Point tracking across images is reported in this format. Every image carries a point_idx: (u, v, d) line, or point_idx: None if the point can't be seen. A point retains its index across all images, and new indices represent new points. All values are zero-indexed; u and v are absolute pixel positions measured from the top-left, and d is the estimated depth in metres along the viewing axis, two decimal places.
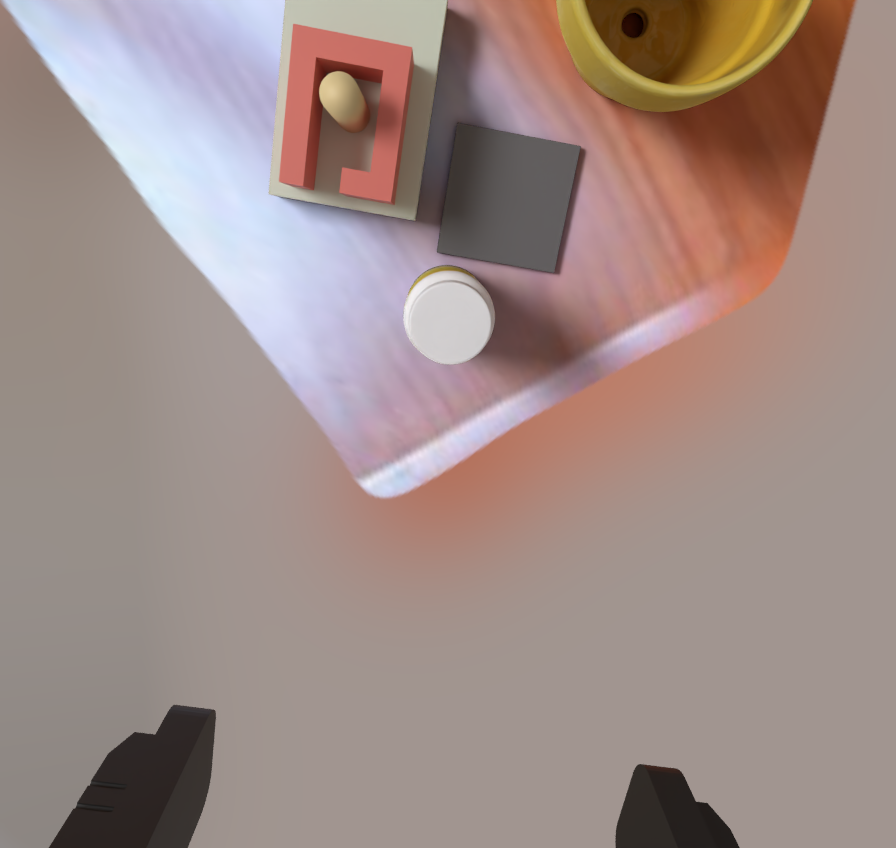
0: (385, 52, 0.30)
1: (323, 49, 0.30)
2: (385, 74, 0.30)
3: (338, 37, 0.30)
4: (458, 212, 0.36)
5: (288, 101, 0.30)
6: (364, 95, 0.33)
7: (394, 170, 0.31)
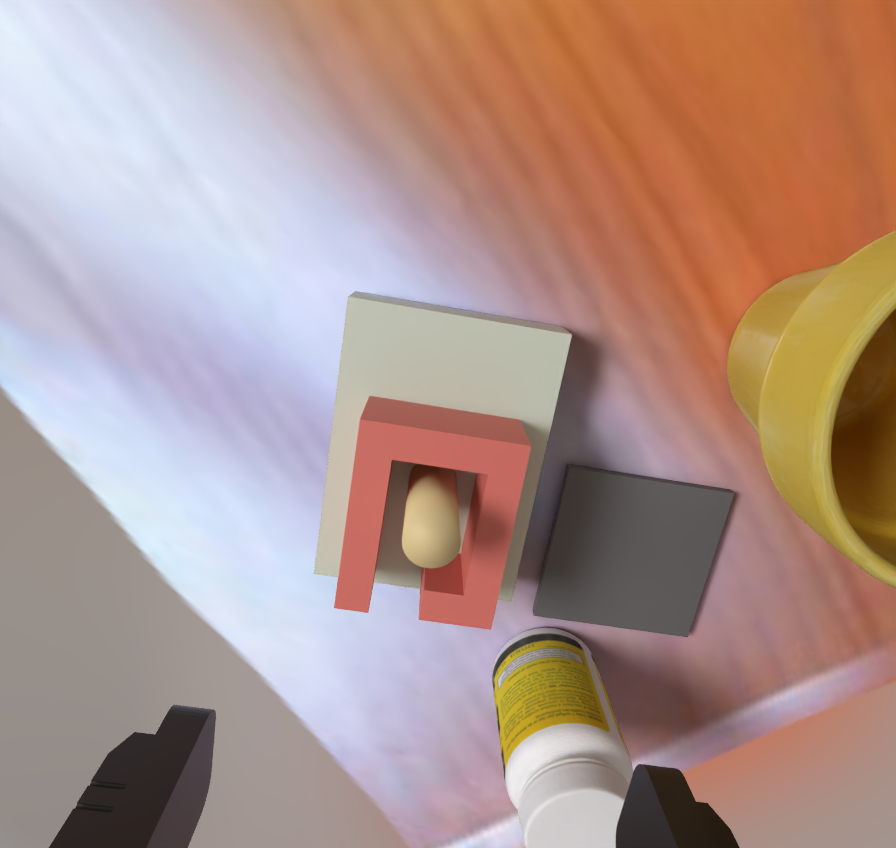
0: (492, 452, 0.21)
1: (403, 450, 0.21)
2: (491, 479, 0.21)
3: (425, 435, 0.20)
4: (565, 570, 0.27)
5: (350, 513, 0.21)
6: None
7: (497, 591, 0.22)
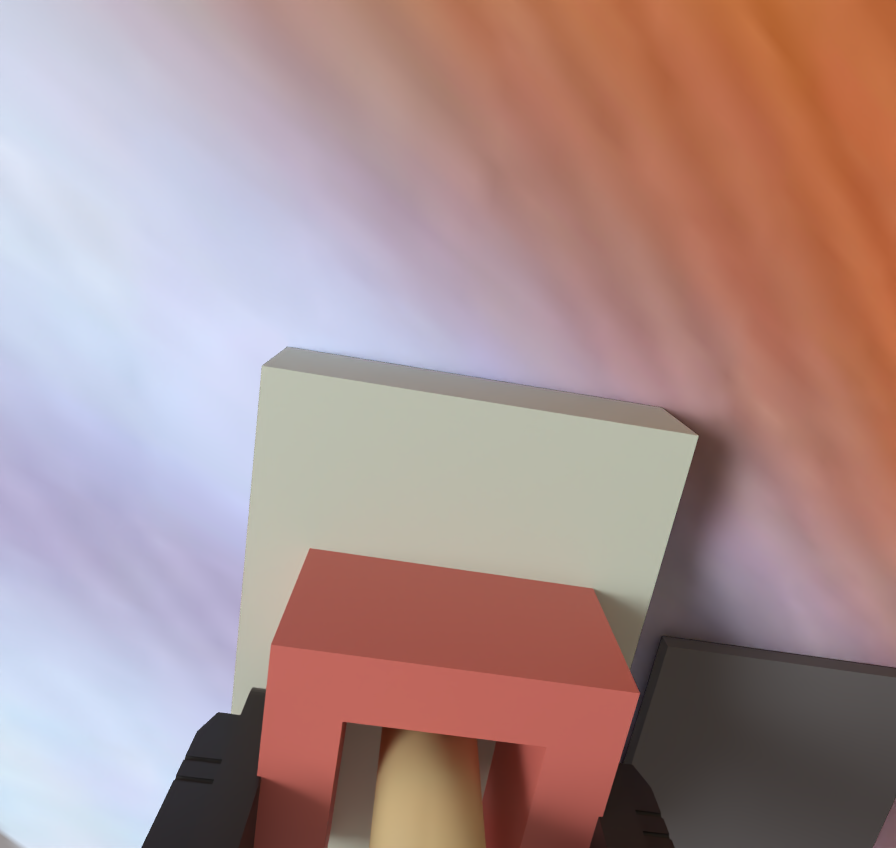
0: (556, 706, 0.10)
1: (366, 704, 0.10)
2: (552, 756, 0.10)
3: (413, 674, 0.10)
4: None
5: (259, 821, 0.10)
6: None
7: None
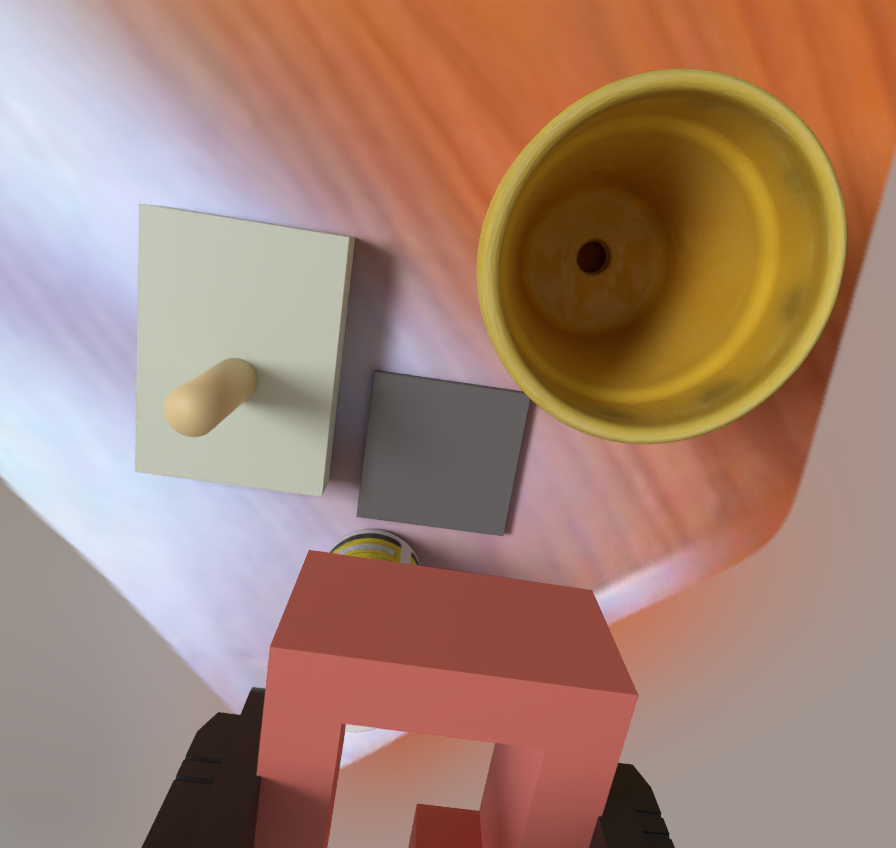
0: (555, 709, 0.10)
1: (365, 706, 0.10)
2: (550, 758, 0.10)
3: (412, 676, 0.10)
4: (381, 472, 0.29)
5: (258, 823, 0.10)
6: (248, 357, 0.26)
7: None
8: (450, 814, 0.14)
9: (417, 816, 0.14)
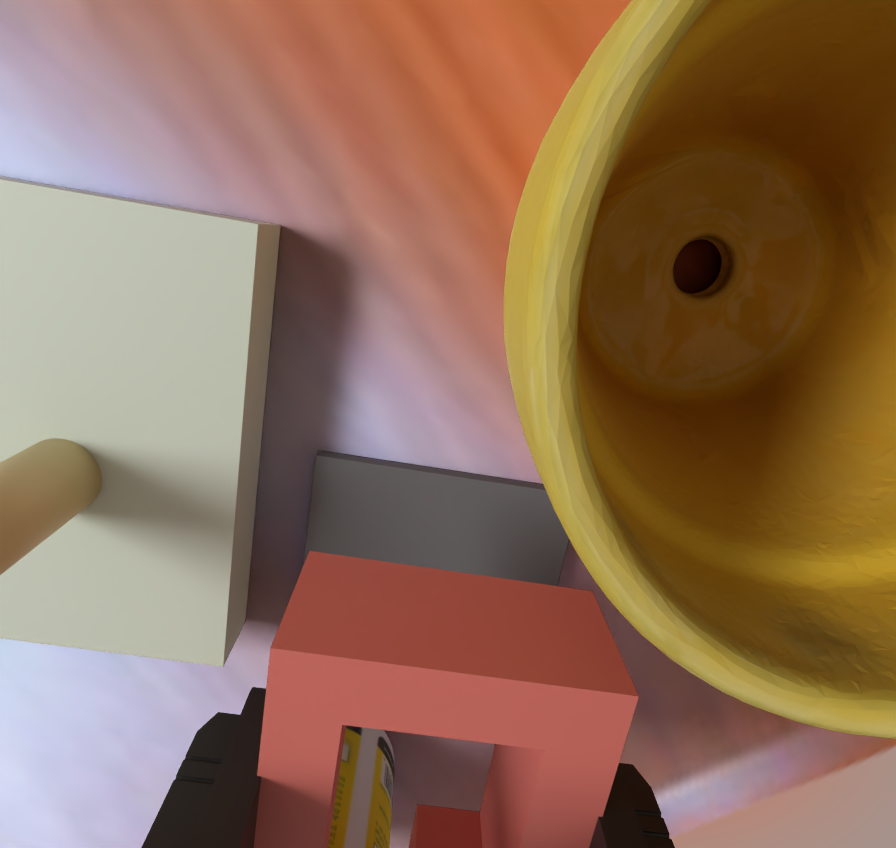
0: (556, 710, 0.10)
1: (365, 708, 0.10)
2: (551, 759, 0.10)
3: (412, 677, 0.10)
4: None
5: (259, 824, 0.10)
6: (83, 438, 0.14)
7: None
8: (450, 815, 0.14)
9: (417, 817, 0.14)
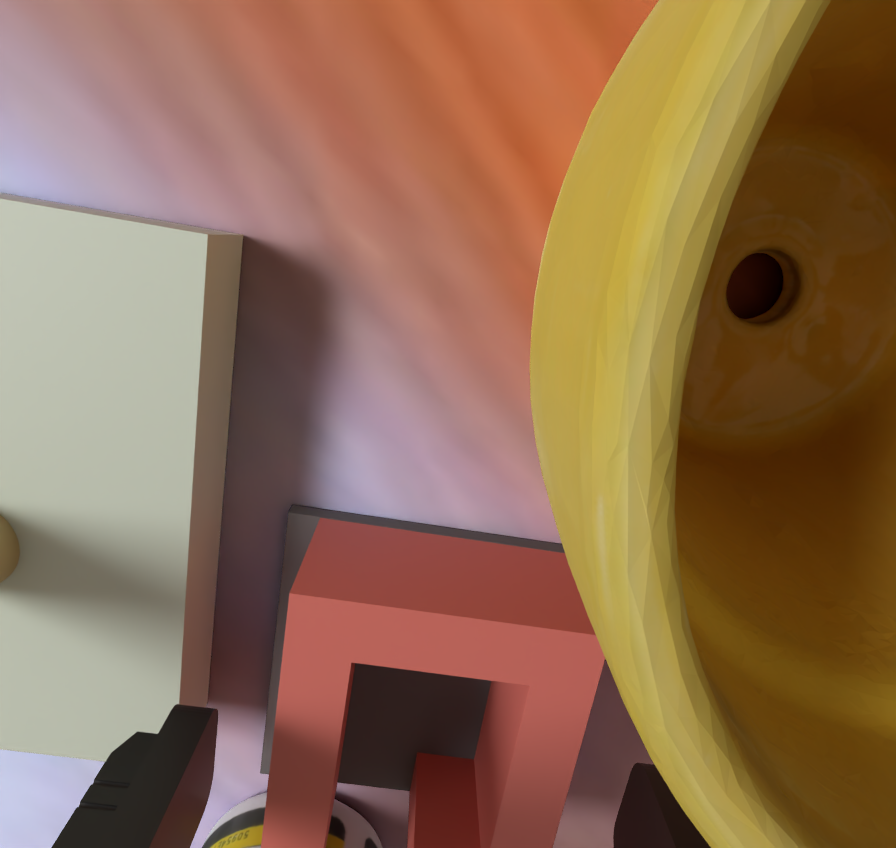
0: (538, 649, 0.11)
1: (371, 647, 0.11)
2: (534, 694, 0.11)
3: (413, 619, 0.11)
4: None
5: (277, 753, 0.12)
6: None
7: None
8: (447, 761, 0.15)
9: (417, 763, 0.15)
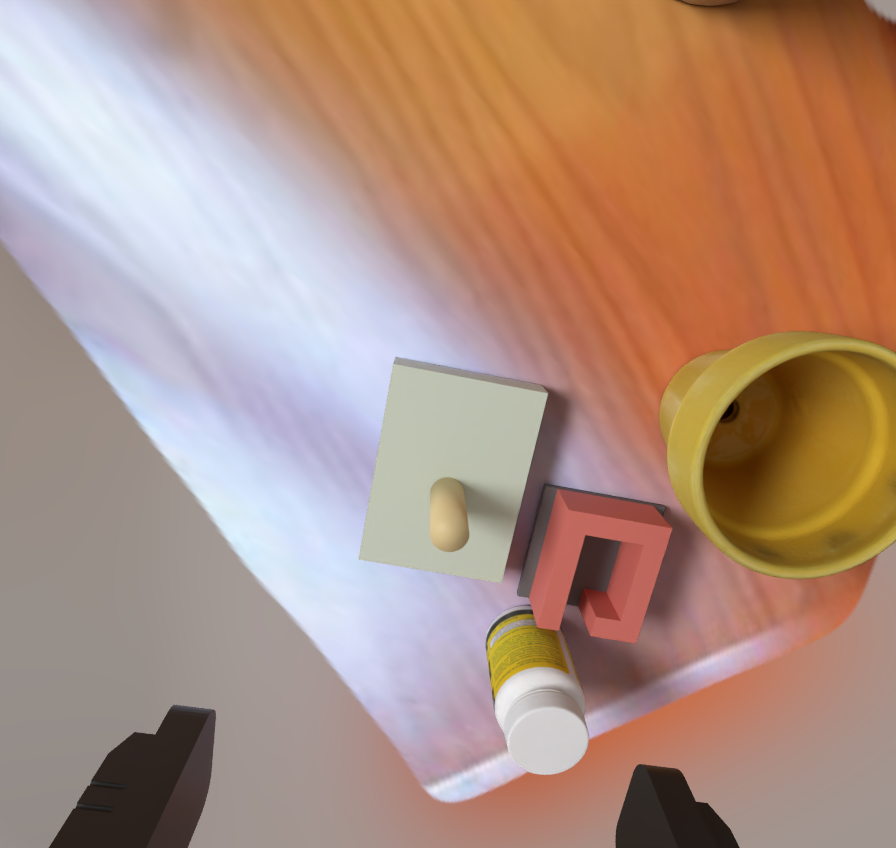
0: (648, 532, 0.33)
1: (593, 529, 0.33)
2: (645, 548, 0.33)
3: (607, 520, 0.33)
4: None
5: (555, 567, 0.33)
6: (459, 477, 0.34)
7: (642, 619, 0.35)
8: (596, 592, 0.37)
9: (584, 591, 0.37)
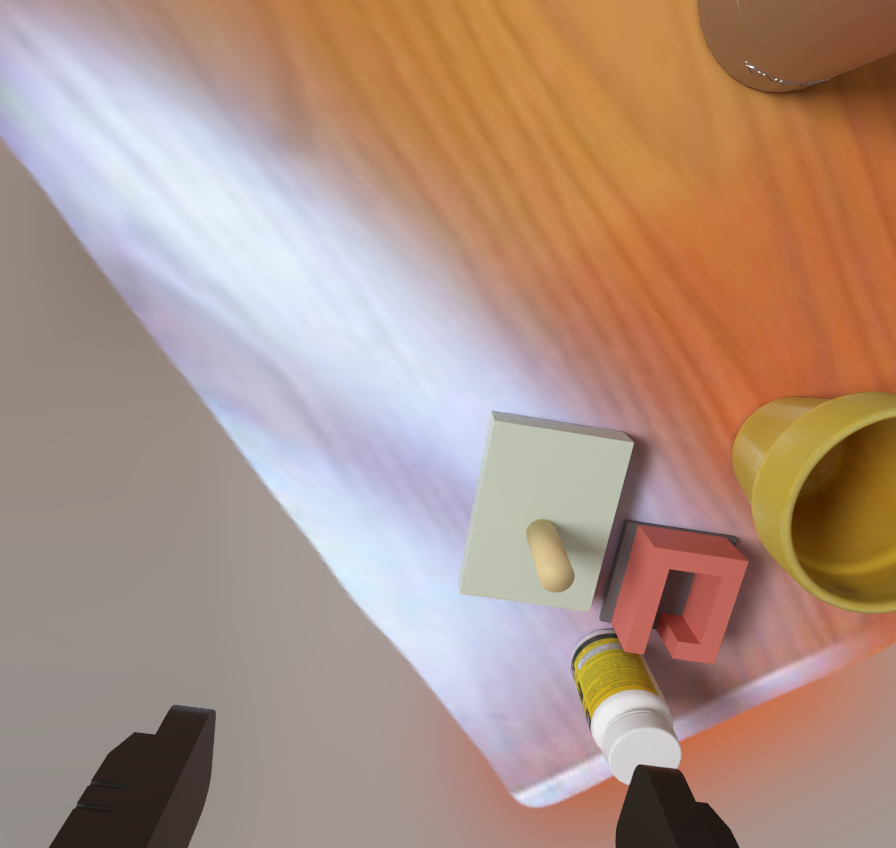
0: (726, 565, 0.36)
1: (676, 564, 0.36)
2: (723, 579, 0.37)
3: (689, 555, 0.36)
4: None
5: (641, 598, 0.37)
6: (552, 519, 0.37)
7: (720, 642, 0.38)
8: (673, 616, 0.41)
9: (662, 615, 0.40)
